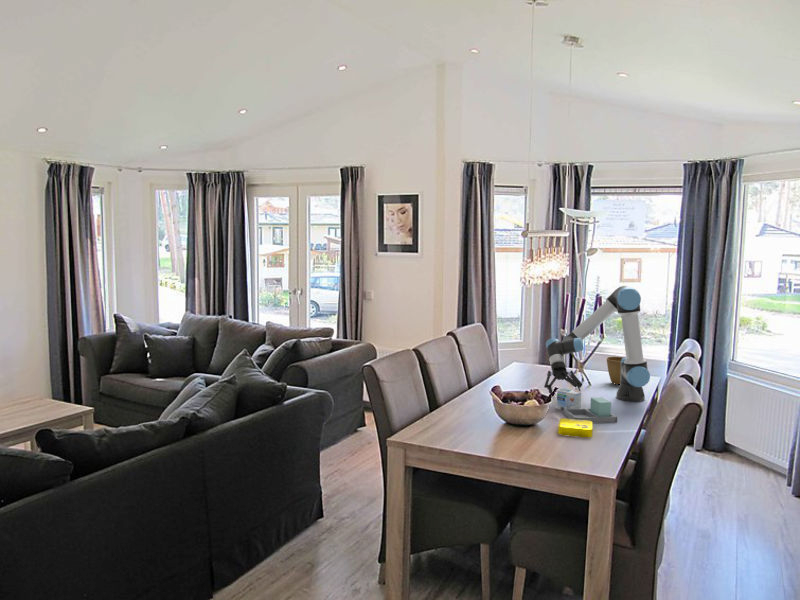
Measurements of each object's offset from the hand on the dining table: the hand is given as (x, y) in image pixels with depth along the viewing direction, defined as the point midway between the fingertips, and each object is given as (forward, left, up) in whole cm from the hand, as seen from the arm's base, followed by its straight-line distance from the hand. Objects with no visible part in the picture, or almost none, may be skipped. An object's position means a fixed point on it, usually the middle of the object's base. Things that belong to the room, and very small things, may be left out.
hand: (566, 398), depth 317 cm
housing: (-5, +17, -6) cm, 19 cm away
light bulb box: (-1, +1, -7) cm, 7 cm away
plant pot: (-56, -58, -7) cm, 82 cm away
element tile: (+9, +36, -7) cm, 38 cm away
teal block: (-11, +17, -6) cm, 21 cm away
